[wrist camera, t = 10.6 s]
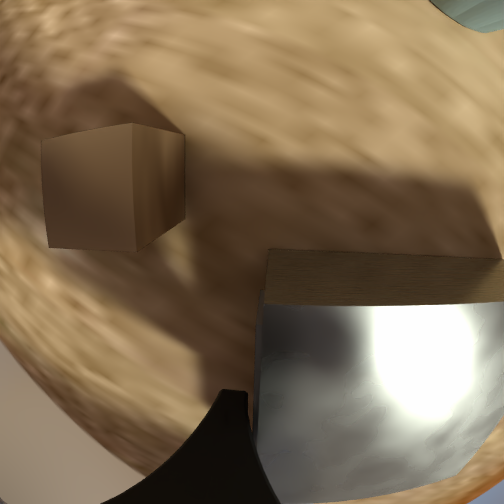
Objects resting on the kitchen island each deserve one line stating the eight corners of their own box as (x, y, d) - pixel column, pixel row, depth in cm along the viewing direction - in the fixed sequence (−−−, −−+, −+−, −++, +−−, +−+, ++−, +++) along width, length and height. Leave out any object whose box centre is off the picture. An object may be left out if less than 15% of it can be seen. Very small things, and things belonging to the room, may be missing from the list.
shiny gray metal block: (435, 426, 13) (455, 475, 9) (259, 440, 14) (253, 502, 10) (503, 259, 10) (560, 295, 6) (268, 248, 10) (263, 303, 6)
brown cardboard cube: (185, 219, 10) (136, 252, 7) (114, 218, 11) (49, 247, 7) (184, 135, 9) (132, 122, 6) (112, 142, 10) (41, 140, 6)
